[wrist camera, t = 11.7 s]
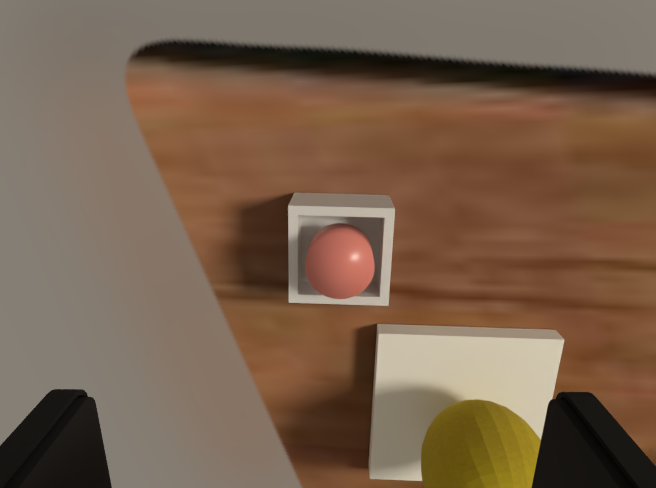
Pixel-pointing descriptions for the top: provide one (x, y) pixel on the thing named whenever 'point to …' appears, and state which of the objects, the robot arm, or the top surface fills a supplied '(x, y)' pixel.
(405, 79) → the top surface
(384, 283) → the button base
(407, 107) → the top surface
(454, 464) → the lemon
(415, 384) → the paper pad
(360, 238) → the button
